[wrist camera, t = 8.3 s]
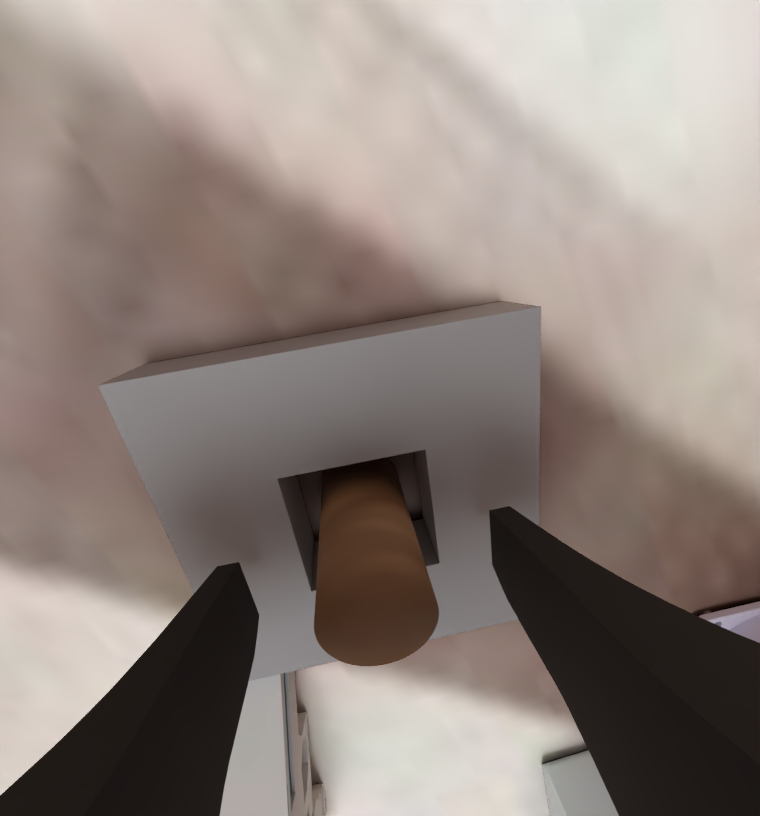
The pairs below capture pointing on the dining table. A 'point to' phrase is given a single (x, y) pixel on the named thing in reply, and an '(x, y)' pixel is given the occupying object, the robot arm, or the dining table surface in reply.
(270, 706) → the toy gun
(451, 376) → the socket plate
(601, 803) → the guitar pedal
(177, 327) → the dining table surface
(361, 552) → the peg
